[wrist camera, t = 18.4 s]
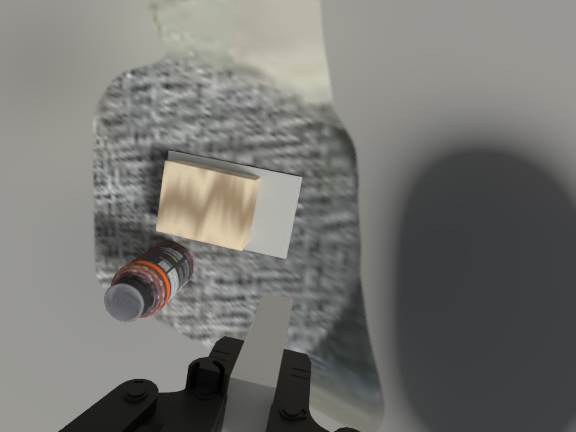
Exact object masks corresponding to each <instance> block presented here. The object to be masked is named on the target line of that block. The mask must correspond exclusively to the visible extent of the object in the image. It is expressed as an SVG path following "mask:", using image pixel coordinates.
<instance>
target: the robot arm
mask: <svg viewBox="0 0 576 432" xmlns="http://www.w3.org/2000/svg"><path fill="white" fill-rule="evenodd" d="M292 304H293V299H292V298H287V297H283V296H278V295H274V294H270V293H265V292H264V294H263V297H262V299H261V302H260V304H259V307H258V309H257V312H256V314H255V316H254V319H253V321H252V324H251V326H250V329H249V331H248V334H247V336H246V339H245V341H244V340H239V339H235V338H231V337H226V336H224V337H223V338H221V339H220V340H218V341H217V342H216V343H215V345H214V347H213V349H212V351H211V353H210V355H209V357H204V358H199V359H196V360H194V361H193V362H192V363H191V364H190V365H189V368H188V374H187V381H186V387H185V389H184V390H181V391H178V392H169V393H158V388H157V386H156V384H154V383H153V382H152V381H149V380H146V379H133V380H129V381H126V382H124V383H122V384H120V385H119V386H118V387H116V388H115V389H114V390H112V391H111V392H110V393H108V394H107V395H106V396H104V397H103V398H102V399H100V400H99V401H98V402H97V403H95V404H94V405H93V406H91V407H90V408H89V409H87V410H86V411H85V412H83V413H82V414H81V415H80V416H78V417H77V418H76V419H74V420H73V421H72V422H70V423H69V424H68V425H66V426H65V427H64V428H63V429H61V430H60V431H59V432H329V431H328V430H325V429H324V428H323V427H321V426H319V425H318V424H317V423H316V422H315V421H314V419H313V418H312V416H311V415H310V411H309V395H310V377H311V361H310V359H309V357H308V356H307V354H304V353H299V352H295V351H291V350H286V349H284V345H285V340H286V335H287V330H288V325H289V319H290V314H291V309H292ZM335 432H360V431H358V430H356V429H353V428H348V427H345V428H339V429H338V430H336V431H335Z"/></svg>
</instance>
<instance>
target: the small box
mask: <svg viewBox="0 0 576 432" xmlns="http://www.w3.org/2000/svg"><path fill="white" fill-rule="evenodd" d="M260 179H261V178H260V177H256V176H251V175H247V174H242V173H238V172H233V171H229V170H224V169H220V168H215V167H211V166H206V165H202V164H197V163H193V162H188V161H183V160H179V159H177V160H165V165H164V172H163V180H162V188H161V195H160V203H159V211H158V218H157V226H156V231H159V232H163V233H167V234H172V235H176V236H180V237H184V238H189V239H193V240H197V241H201V242H206V243H210V244H214V245H219V246H223V247H227V248H231V249H236V250H240V251H242V250H243V249H244V247H245V246H246V245H247V244H248V242H249V237H250V231H251V226H252V221H253V216H254V210H255V205H256V200H257V195H258V190H259V184H260Z"/></svg>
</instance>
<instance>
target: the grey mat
mask: <svg viewBox="0 0 576 432" xmlns="http://www.w3.org/2000/svg"><path fill="white" fill-rule="evenodd" d="M177 159H179V160H183V161H188V162H193V163H197V164H202V165H206V166H211V167H215V168H220V169H224V170H229V171H233V172H238V173H242V174H247V175H251V176H256V177H260V178H261V179H260V184H259V190H258V195H257V200H256V205H255V210H254V216H253V221H252V226H251V231H250V237H249V242H248V244H247V245H246V246H245V247H244V249H243V250H248V251H252V252H257V253H262V254H266V255H271V256H276V257H280V258H285V259H286V257H287V252H288V247H289V242H290V237H291V232H292V227H293V222H294V217H295V212H296V207H297V202H298V197H299V192H300V187H301V182H302V177H300V176H295V175H290V174H285V173H280V172H275V171H270V170H265V169H260V168H255V167H250V166H245V165H240V164H235V163H230V162H225V161H220V160H215V159H210V158H205V157H200V156H195V155H190V154H185V153H181V152H176V151H171V150H169V153H168V160H177Z"/></svg>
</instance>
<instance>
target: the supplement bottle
mask: <svg viewBox="0 0 576 432" xmlns="http://www.w3.org/2000/svg"><path fill="white" fill-rule="evenodd" d="M192 273H193V260H192V258H191V256H190V254H189V253H188V251H187V250H186V249H185V248H183V247H182V246H180V245H178V244H175V243H162V244H159V245H157V246H155V247H154V248H152V249H151V250H149V251H147V252H146V253H144V254H143V255H141V256H139V257H138V258H136V259H135V260H133V261H131V262H130V263H128V264H127V265H125V266H124V267H122V268H121V269H120V270H119V271H118V272H117V273H116V274H115V276H114V278H113V280H112V283H111V287H110V288H109V289H108V290H107V292H106V294H105V298H104V301H105V306H106V309H107V311H108V312H109V314H110V315H111V316H113V317H114V318H115V319H117V320H120V321H124V322H130V321H134V320H136V319H137V318H143V317H148V316H151V315H153V314H155V313H157V312H158V311H159V310H160V309H161V308H162V307H163V306H164V305H165V304H166V303H167V302H168V301H169V300H170V299H171V298H172V297H173V296H174V295H175V294H176V293H177V292H178V291H179V290H180V289H181V288H182V287H183V286H184V285H185V284H186V283H187V281H188V280H189V279H190V277H191V276H192Z"/></svg>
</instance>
